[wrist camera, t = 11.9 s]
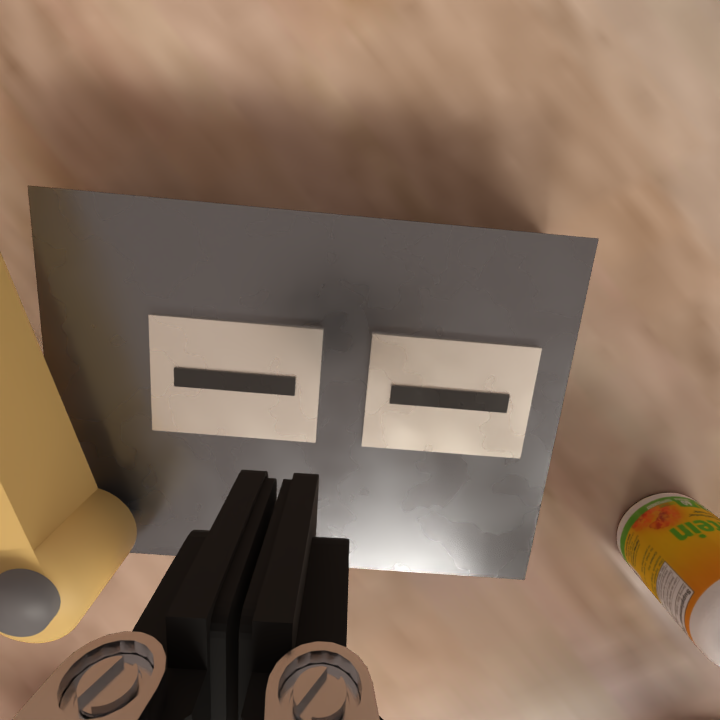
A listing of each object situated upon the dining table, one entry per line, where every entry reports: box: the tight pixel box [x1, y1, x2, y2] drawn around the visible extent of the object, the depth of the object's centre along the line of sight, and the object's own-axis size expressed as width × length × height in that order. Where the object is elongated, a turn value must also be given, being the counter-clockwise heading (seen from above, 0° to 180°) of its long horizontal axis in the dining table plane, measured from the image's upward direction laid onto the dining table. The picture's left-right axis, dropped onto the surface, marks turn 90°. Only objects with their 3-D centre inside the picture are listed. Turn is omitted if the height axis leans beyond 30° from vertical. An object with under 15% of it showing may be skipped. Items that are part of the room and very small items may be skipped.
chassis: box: [28, 186, 598, 580], centre depth 22 cm, size 22×16×5 cm
